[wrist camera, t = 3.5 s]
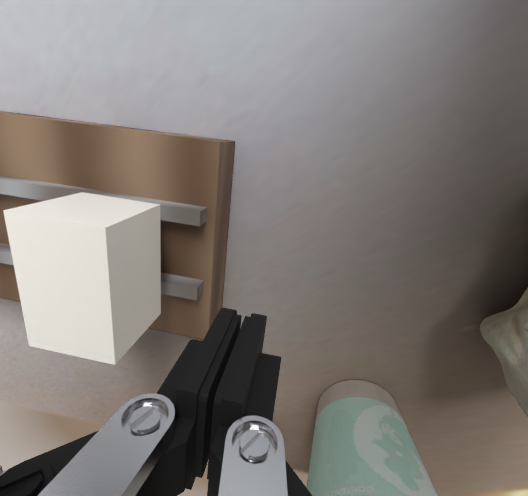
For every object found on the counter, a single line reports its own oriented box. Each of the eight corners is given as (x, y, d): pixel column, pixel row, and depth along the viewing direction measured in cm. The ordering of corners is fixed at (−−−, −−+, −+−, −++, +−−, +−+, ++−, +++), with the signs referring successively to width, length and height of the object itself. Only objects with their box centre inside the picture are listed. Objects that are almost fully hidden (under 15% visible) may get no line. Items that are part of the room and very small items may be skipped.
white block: (178, 196, 16) (105, 227, 11) (176, 295, 18) (115, 365, 13) (108, 186, 17) (3, 210, 11) (114, 283, 19) (28, 345, 13)
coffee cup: (435, 435, 23) (549, 721, 12) (330, 460, 25) (341, 714, 14) (388, 347, 21) (469, 586, 10) (279, 384, 23) (246, 607, 12)
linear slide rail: (235, 141, 18) (213, 142, 14) (221, 315, 22) (202, 350, 18) (-160, 90, 21) (-262, 79, 17) (-105, 251, 25) (-178, 270, 22)
